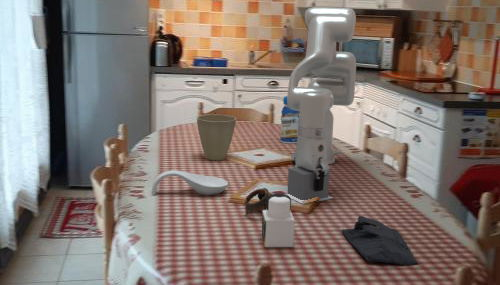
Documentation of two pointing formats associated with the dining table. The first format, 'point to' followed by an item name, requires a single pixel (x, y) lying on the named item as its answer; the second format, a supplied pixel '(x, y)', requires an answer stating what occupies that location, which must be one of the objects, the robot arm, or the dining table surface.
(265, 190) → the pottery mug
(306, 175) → the plain gray box
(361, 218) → the dark gray folded cloth
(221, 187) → the spoon rest
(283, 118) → the beverage bottle
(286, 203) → the medicine bottle
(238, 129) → the dining table surface
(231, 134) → the plant pot
